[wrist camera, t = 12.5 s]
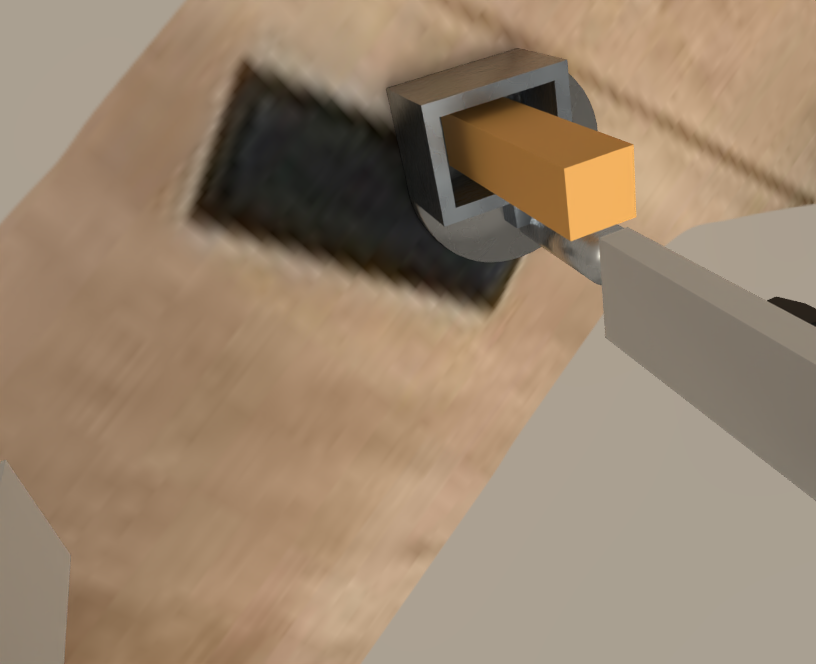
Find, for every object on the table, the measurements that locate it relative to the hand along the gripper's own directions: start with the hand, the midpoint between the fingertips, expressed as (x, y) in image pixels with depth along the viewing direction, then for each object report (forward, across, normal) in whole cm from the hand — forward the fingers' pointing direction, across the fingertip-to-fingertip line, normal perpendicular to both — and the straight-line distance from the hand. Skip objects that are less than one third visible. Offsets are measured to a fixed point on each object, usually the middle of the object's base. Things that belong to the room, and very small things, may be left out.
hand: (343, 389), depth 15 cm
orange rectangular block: (+33, +17, -6) cm, 38 cm away
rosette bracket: (+35, +20, -10) cm, 41 cm away
